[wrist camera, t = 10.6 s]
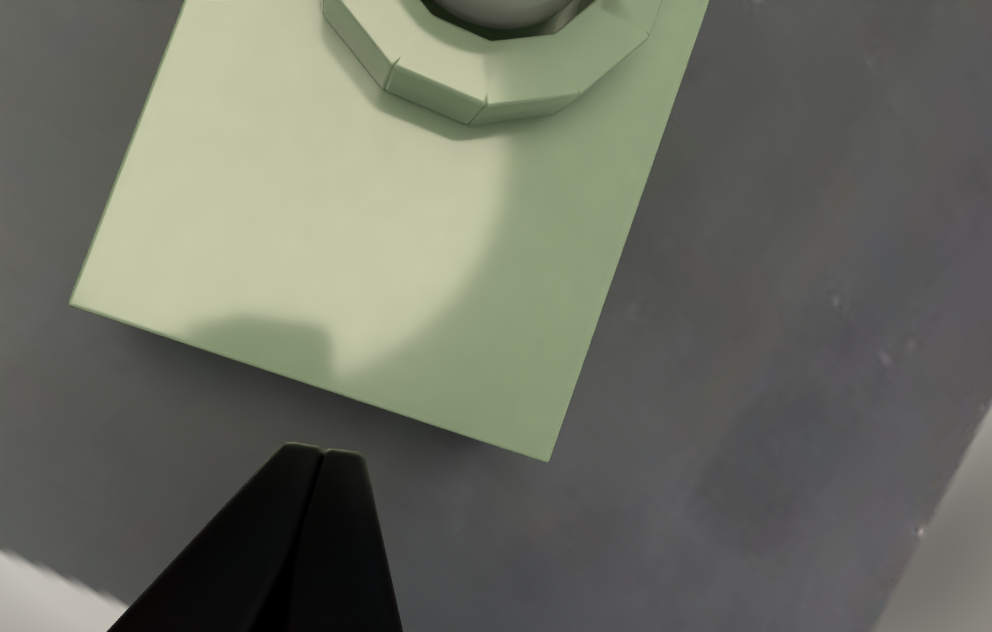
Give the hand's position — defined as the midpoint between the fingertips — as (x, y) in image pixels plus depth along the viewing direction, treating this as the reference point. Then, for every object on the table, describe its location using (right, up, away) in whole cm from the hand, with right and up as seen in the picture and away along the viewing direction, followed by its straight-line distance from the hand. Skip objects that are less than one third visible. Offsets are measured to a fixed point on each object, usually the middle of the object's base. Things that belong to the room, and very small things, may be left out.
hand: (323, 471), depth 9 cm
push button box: (-1, +6, +13) cm, 14 cm away
